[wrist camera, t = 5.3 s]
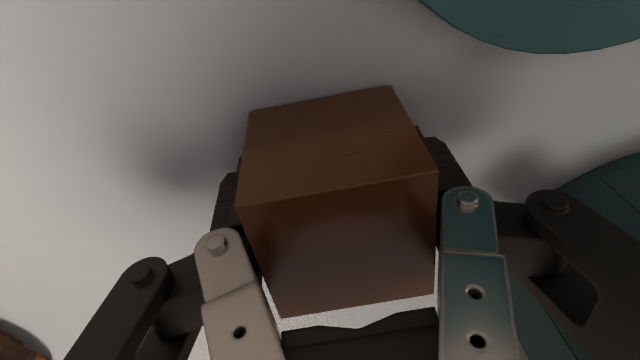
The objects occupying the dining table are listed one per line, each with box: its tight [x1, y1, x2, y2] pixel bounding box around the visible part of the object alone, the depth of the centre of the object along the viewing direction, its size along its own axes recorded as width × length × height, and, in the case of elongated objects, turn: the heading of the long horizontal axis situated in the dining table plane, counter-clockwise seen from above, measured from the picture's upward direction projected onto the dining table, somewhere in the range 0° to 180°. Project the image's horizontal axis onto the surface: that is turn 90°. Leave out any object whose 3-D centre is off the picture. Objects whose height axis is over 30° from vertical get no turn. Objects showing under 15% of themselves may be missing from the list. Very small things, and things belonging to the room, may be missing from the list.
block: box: [234, 85, 439, 319], centre depth 12 cm, size 5×5×5 cm
